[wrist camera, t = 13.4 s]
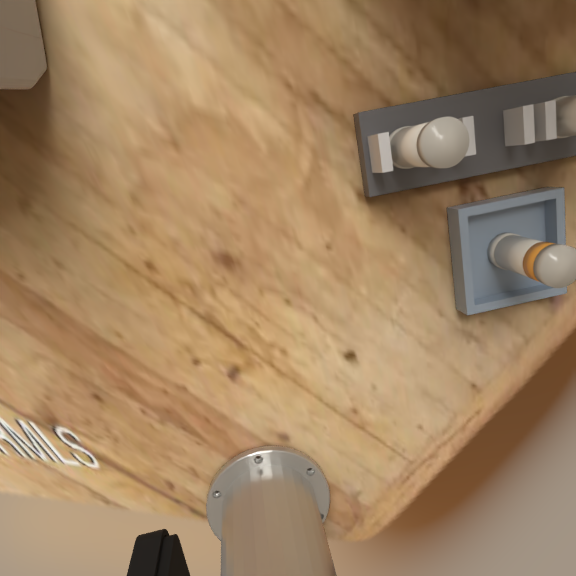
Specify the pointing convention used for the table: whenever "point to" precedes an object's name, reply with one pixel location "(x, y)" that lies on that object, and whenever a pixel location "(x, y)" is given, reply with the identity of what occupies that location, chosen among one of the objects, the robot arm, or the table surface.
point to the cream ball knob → (565, 116)
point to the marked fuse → (534, 259)
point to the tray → (478, 234)
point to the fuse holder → (482, 133)
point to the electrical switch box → (20, 45)
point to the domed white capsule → (430, 144)
